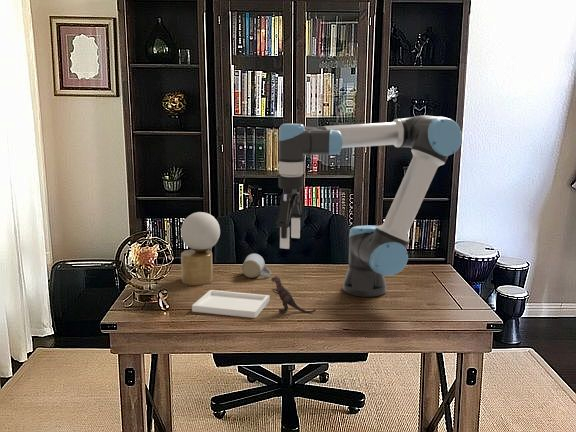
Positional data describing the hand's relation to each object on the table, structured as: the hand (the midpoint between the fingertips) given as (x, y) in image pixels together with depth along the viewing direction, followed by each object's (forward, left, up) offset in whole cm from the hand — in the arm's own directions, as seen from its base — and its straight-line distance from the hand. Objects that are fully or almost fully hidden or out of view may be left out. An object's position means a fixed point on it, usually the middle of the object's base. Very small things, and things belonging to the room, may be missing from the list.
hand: (290, 243), depth 198 cm
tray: (+19, 0, -23) cm, 30 cm away
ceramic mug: (+21, -34, -23) cm, 46 cm away
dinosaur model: (-1, 0, -23) cm, 23 cm away
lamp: (+40, -24, -23) cm, 52 cm away
